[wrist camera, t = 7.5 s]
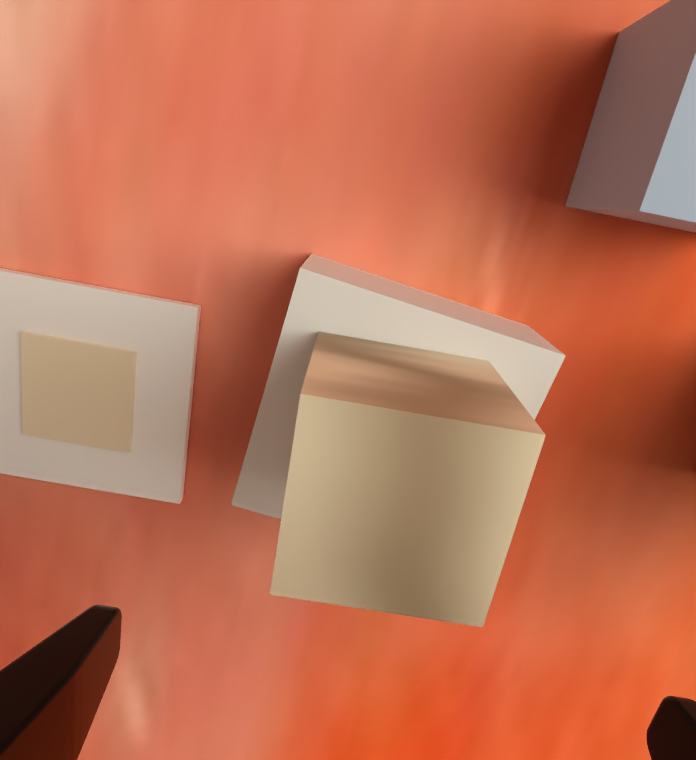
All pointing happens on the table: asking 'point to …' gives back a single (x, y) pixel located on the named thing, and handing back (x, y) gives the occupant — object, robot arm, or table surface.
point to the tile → (95, 385)
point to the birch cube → (403, 481)
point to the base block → (383, 324)
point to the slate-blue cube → (645, 125)
